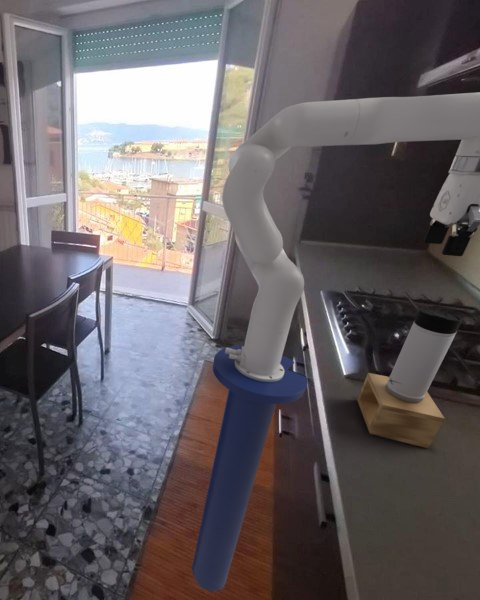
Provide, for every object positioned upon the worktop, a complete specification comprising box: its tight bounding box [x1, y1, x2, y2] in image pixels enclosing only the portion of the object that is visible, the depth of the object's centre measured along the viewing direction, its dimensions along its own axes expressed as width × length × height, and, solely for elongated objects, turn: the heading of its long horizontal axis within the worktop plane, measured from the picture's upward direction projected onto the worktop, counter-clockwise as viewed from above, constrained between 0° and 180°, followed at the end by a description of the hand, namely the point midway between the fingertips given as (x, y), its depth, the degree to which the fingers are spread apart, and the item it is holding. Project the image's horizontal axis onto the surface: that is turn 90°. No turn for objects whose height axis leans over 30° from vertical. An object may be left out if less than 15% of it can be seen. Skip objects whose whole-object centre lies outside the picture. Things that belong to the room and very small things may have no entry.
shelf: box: [356, 372, 445, 449], centre depth 79 cm, size 10×12×8 cm
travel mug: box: [386, 307, 463, 403], centre depth 73 cm, size 6×7×20 cm
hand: (441, 248), depth 78 cm, fingers open, 9 cm apart
